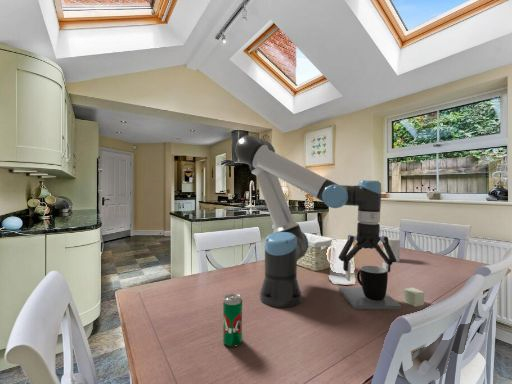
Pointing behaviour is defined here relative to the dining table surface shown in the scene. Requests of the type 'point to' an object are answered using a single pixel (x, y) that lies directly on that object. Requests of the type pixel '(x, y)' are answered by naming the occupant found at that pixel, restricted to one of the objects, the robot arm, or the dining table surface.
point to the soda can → (232, 319)
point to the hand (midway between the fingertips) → (366, 280)
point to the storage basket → (316, 253)
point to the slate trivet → (361, 302)
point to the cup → (394, 247)
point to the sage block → (413, 296)
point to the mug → (373, 281)
